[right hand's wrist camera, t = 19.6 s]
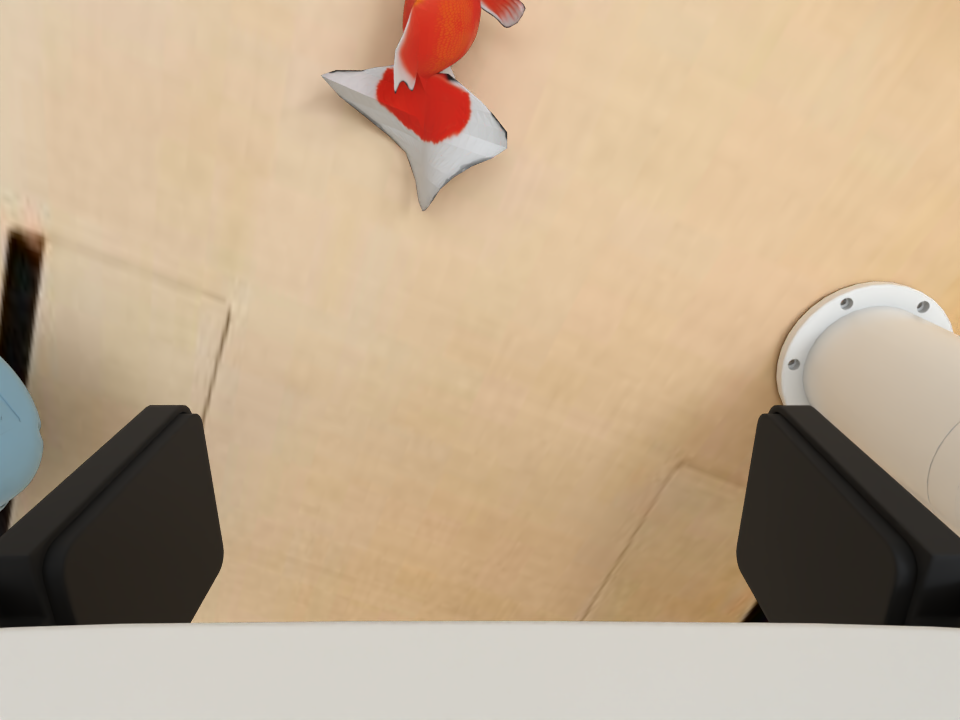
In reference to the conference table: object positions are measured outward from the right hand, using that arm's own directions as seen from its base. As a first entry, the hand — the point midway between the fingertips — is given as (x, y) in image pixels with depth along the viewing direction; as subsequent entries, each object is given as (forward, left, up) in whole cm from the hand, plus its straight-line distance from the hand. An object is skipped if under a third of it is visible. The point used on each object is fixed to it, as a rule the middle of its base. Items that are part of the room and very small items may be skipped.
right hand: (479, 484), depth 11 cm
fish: (+3, -7, -37) cm, 37 cm away
